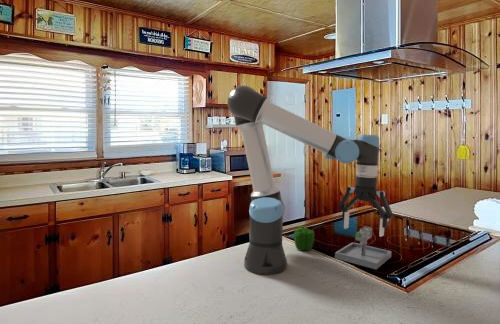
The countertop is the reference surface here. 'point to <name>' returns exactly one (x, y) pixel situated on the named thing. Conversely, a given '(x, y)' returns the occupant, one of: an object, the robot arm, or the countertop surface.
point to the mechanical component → (364, 237)
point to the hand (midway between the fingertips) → (363, 231)
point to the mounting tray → (371, 258)
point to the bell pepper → (304, 238)
